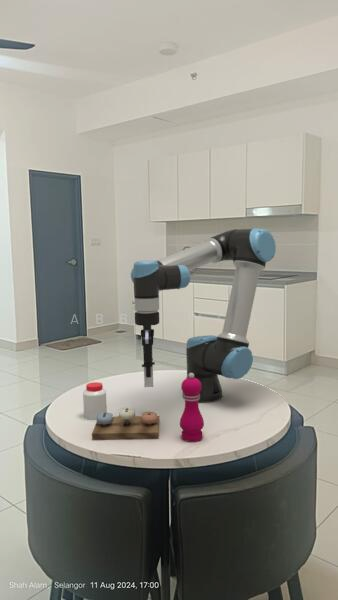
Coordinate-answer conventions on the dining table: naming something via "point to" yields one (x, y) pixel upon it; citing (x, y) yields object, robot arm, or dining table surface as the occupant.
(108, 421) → the button
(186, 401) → the pepper mill
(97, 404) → the pill bottle
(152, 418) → the button
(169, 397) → the dining table surface
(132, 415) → the button
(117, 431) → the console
